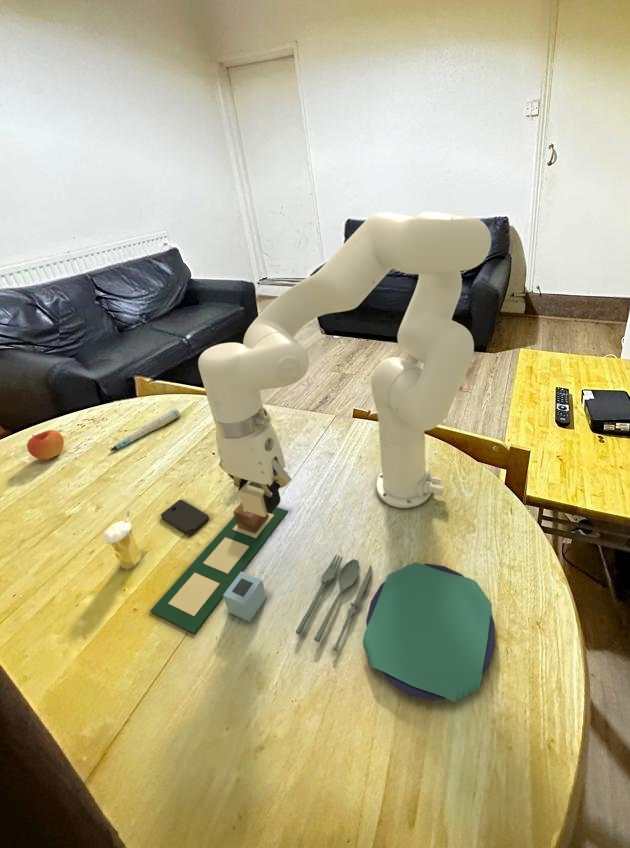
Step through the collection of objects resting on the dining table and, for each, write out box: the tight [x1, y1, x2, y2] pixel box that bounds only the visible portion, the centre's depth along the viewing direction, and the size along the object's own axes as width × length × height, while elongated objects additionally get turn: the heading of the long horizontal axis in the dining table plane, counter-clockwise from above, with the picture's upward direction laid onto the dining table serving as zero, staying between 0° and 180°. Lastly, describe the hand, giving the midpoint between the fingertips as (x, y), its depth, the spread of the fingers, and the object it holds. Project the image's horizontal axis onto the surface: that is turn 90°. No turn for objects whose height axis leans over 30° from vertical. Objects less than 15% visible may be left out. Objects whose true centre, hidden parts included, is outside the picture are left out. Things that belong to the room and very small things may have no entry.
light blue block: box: [223, 571, 268, 623], centre depth 69 cm, size 4×4×5 cm
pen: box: [109, 408, 182, 452], centre depth 115 cm, size 19×3×3 cm, turn 145°
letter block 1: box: [238, 481, 272, 517], centre depth 72 cm, size 4×4×5 cm
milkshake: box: [102, 510, 142, 570], centre depth 77 cm, size 5×5×10 cm
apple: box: [26, 429, 65, 461], centre depth 108 cm, size 7×7×8 cm
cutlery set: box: [295, 554, 496, 703], centre depth 66 cm, size 20×30×2 cm, turn 69°
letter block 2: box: [232, 501, 269, 533], centre depth 84 cm, size 4×4×5 cm
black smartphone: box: [160, 499, 210, 537], centre depth 88 cm, size 5×1×10 cm
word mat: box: [149, 506, 289, 635], centre depth 79 cm, size 10×26×1 cm, turn 157°
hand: (261, 502), depth 73 cm, fingers closed on letter block 1, 4 cm apart
